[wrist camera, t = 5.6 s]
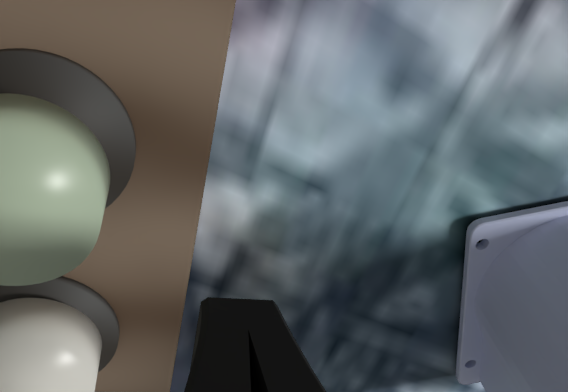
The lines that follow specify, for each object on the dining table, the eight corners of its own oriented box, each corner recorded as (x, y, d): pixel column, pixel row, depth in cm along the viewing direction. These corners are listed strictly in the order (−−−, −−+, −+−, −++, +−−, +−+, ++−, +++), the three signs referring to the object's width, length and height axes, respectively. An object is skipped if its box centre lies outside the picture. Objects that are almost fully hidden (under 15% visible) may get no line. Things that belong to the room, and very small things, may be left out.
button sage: (106, 245, 15) (97, 291, 13) (-62, 231, 14) (-93, 279, 12) (115, 107, 12) (106, 143, 11) (-82, 79, 12) (-121, 115, 10)
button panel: (170, 351, 22) (169, 399, 20) (-79, 342, 20) (-107, 395, 18) (271, -273, 12) (287, -295, 10) (-210, -429, 10) (-304, -493, 8)
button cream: (99, 387, 19) (91, 433, 17) (-28, 384, 18) (-48, 434, 16) (105, 301, 17) (97, 346, 15) (-38, 293, 16) (-61, 340, 14)
